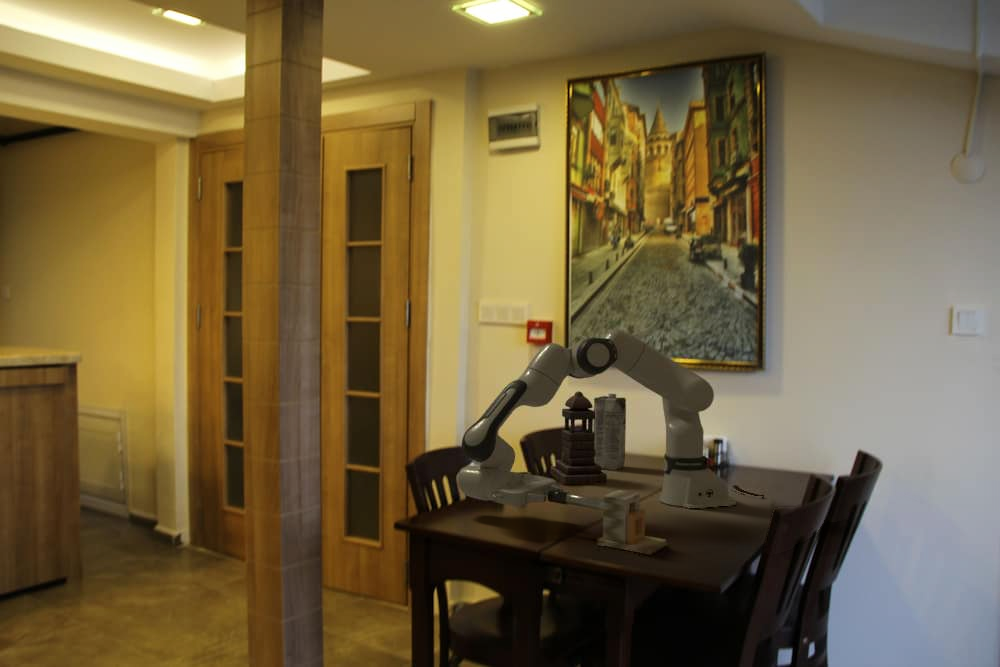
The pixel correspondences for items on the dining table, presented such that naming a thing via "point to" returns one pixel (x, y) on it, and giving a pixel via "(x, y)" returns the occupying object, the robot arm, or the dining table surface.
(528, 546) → the dining table surface
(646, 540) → the bearing frame
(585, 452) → the miniature tower
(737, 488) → the curved wedge
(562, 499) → the shaft
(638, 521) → the orange upright panel
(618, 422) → the battery
